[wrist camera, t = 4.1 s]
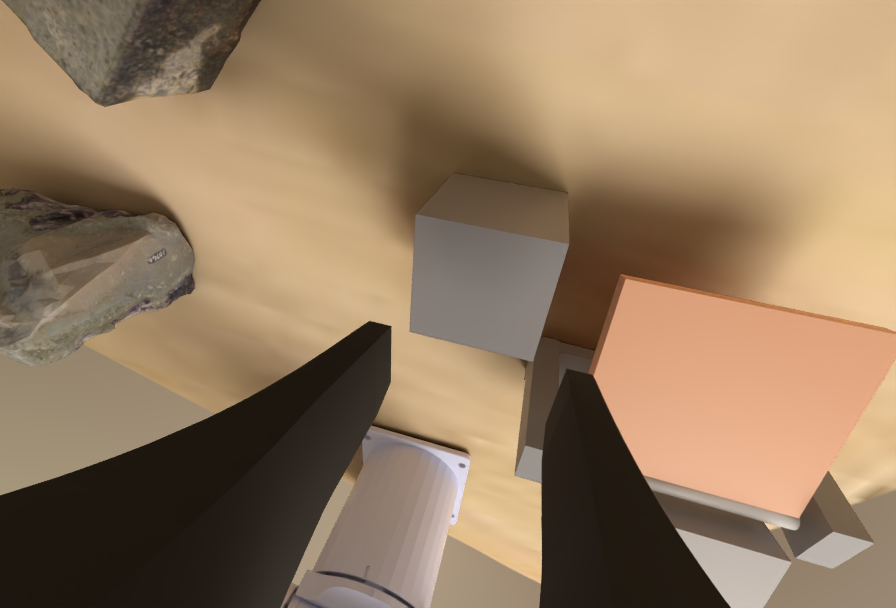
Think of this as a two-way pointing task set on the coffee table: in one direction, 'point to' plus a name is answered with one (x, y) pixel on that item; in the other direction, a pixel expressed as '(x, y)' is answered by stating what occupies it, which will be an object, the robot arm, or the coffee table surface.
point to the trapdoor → (734, 415)
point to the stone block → (136, 43)
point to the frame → (816, 540)
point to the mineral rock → (80, 273)
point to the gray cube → (488, 263)
